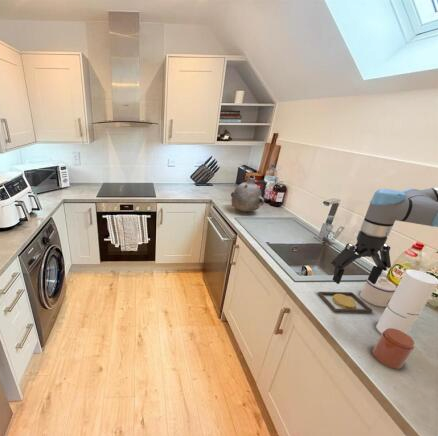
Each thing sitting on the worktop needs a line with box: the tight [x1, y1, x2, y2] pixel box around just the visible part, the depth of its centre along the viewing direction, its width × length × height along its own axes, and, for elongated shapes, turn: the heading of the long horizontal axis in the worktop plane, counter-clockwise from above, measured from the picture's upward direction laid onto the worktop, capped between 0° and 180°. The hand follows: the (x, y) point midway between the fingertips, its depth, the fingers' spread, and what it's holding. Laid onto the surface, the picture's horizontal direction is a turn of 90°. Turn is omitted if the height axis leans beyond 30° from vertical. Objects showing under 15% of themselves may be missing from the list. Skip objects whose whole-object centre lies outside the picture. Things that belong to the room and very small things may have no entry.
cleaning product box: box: [242, 179, 268, 203], centre depth 205 cm, size 16×9×20 cm, turn 88°
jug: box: [230, 174, 265, 213], centre depth 184 cm, size 24×21×30 cm
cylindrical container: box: [375, 269, 438, 335], centre depth 78 cm, size 7×7×25 cm
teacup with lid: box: [359, 276, 397, 308], centre depth 97 cm, size 12×9×12 cm
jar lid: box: [332, 294, 357, 309], centre depth 96 cm, size 7×7×2 cm
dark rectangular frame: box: [317, 291, 373, 314], centre depth 96 cm, size 14×10×2 cm
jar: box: [372, 328, 415, 370], centre depth 72 cm, size 7×7×10 cm
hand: (353, 281), depth 91 cm, fingers open, 13 cm apart
